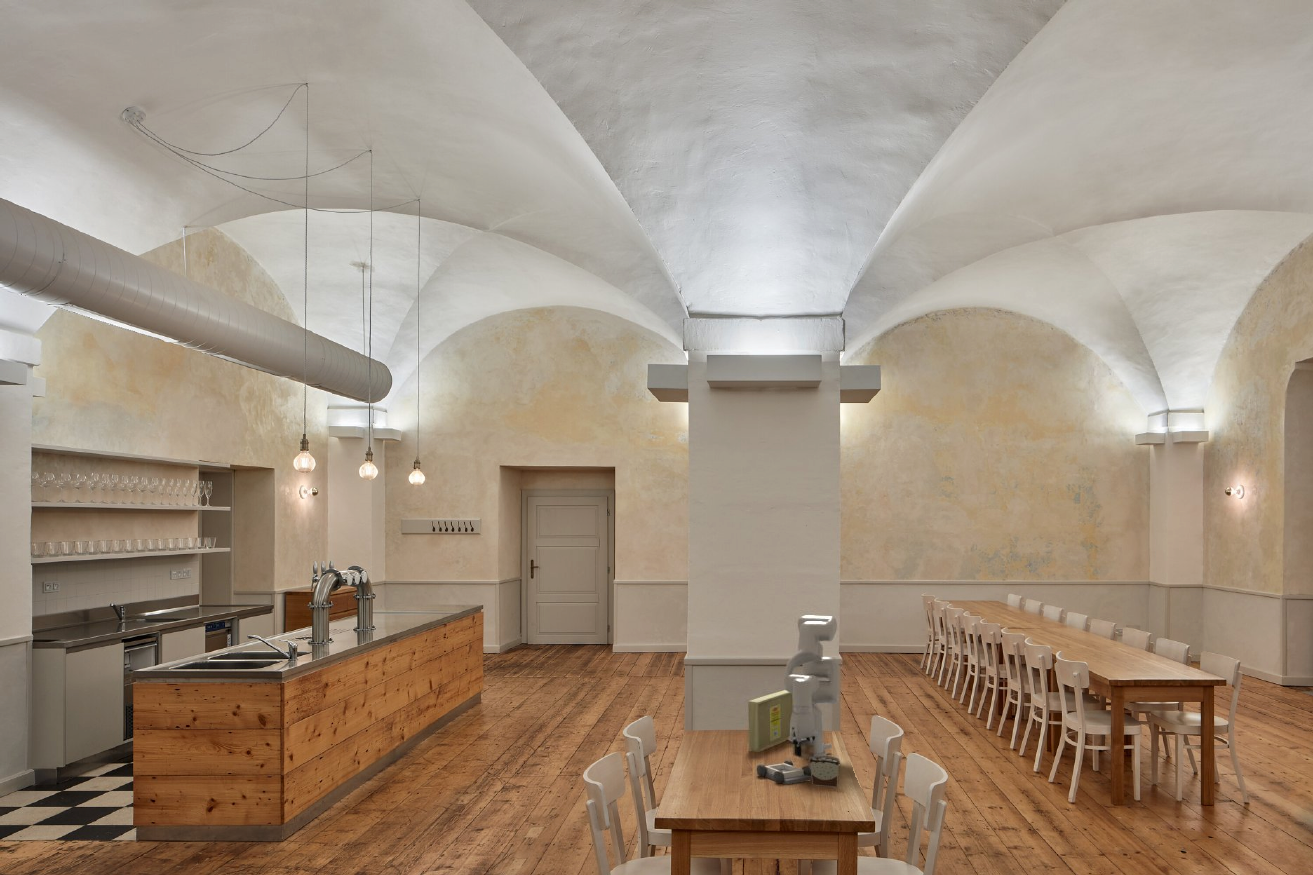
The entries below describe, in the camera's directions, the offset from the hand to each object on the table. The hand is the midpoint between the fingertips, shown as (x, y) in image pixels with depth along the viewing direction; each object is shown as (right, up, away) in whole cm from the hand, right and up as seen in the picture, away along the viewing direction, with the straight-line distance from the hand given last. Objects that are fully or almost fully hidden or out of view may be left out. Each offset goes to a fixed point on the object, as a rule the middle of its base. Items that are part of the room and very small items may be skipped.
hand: (803, 753), depth 378 cm
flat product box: (-7, -11, +44) cm, 46 cm away
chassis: (-10, -5, -13) cm, 17 cm away
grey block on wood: (0, -1, 0) cm, 1 cm away
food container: (+5, -4, -23) cm, 24 cm away
